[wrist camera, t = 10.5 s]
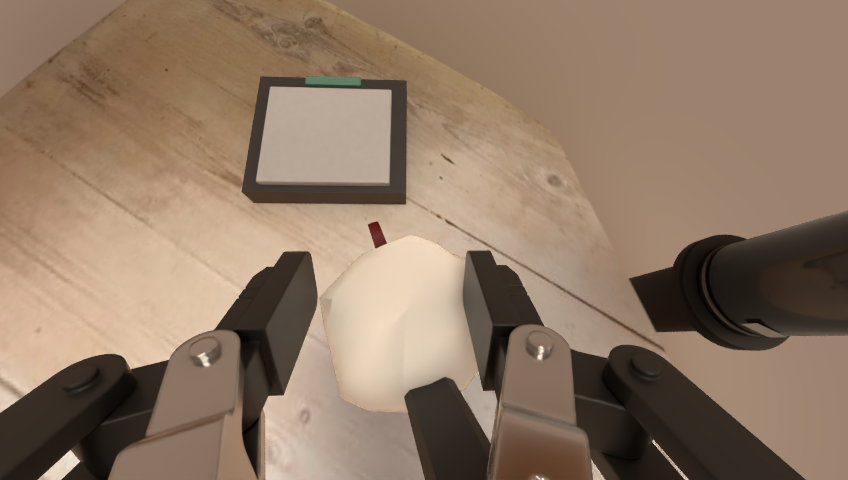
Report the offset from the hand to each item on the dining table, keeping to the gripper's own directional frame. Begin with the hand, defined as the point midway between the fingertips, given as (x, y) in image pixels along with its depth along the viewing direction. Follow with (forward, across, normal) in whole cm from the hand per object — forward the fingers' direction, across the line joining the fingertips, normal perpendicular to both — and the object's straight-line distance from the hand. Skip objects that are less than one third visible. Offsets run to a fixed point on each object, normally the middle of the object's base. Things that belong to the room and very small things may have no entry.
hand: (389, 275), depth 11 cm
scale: (+26, +7, +2) cm, 27 cm away
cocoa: (+3, -1, +6) cm, 7 cm away
